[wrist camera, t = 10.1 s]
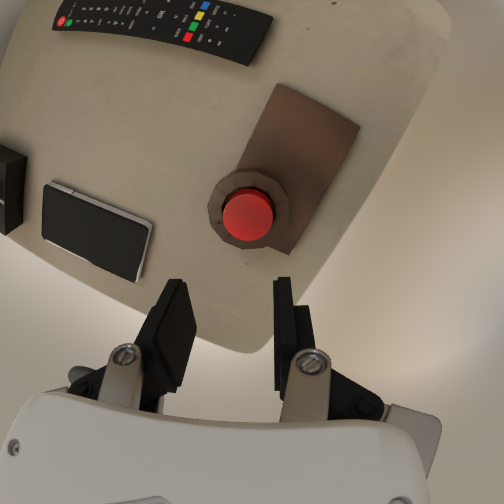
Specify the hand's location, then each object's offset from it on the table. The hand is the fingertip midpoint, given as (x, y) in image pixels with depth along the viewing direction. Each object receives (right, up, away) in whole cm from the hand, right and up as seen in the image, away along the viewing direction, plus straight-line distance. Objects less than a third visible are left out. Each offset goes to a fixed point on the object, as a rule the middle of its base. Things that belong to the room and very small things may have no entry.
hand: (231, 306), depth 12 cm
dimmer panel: (-33, +12, +13) cm, 37 cm away
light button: (+1, +6, +11) cm, 13 cm away
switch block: (+4, +10, +12) cm, 16 cm away
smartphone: (-18, +5, +16) cm, 24 cm away
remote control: (-9, +25, +5) cm, 27 cm away
